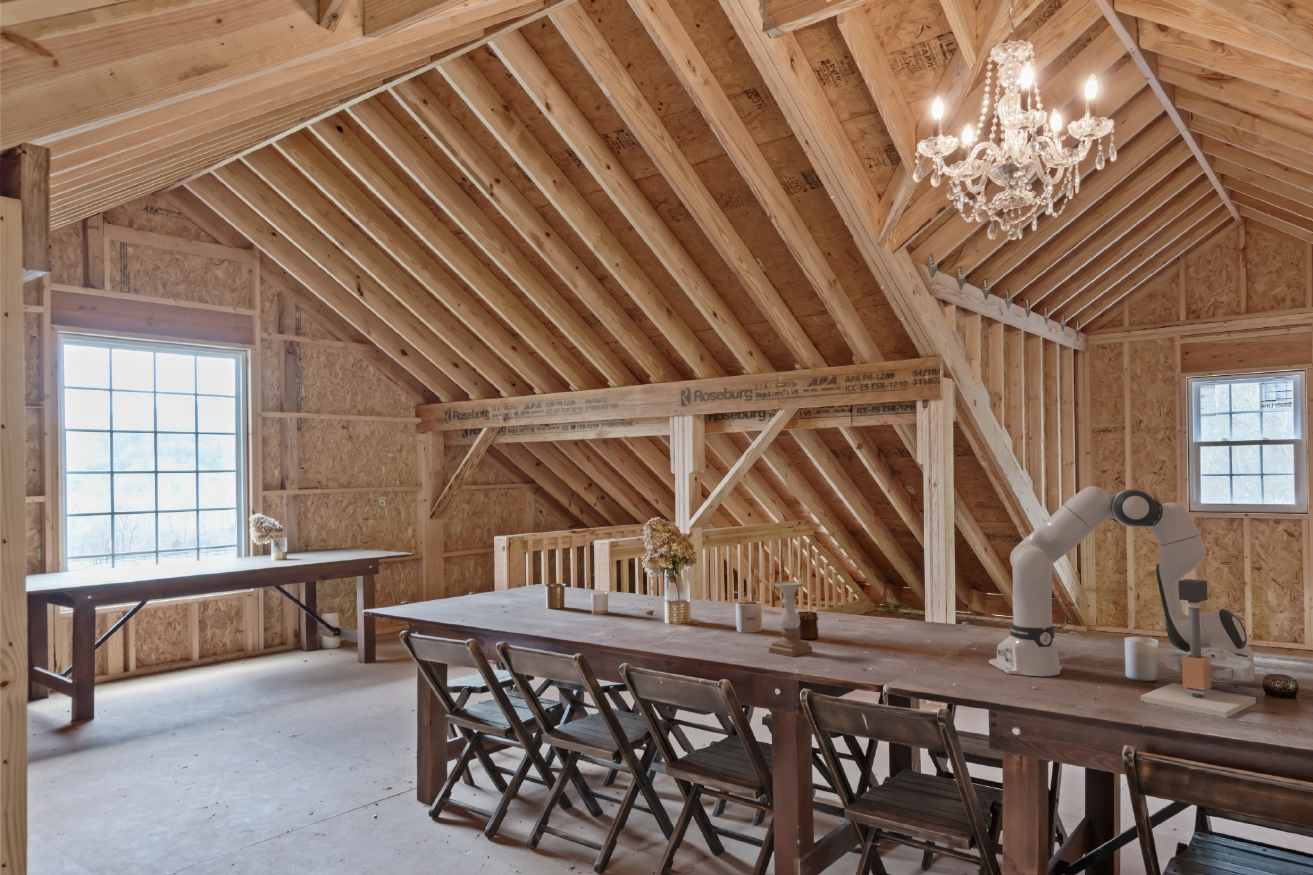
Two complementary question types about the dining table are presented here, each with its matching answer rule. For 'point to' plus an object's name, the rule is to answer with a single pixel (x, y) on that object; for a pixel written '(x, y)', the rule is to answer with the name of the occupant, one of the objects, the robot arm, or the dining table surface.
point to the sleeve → (1196, 672)
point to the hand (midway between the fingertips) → (1197, 671)
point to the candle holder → (789, 624)
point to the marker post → (1194, 698)
